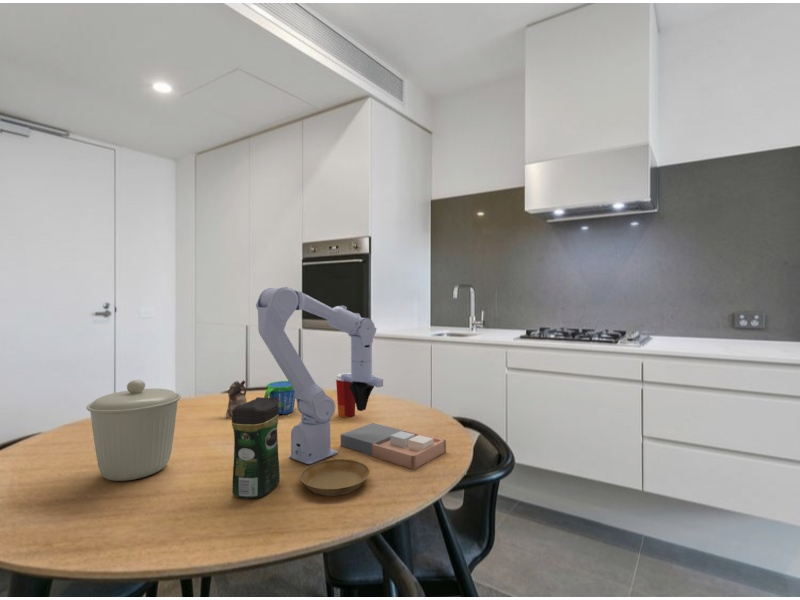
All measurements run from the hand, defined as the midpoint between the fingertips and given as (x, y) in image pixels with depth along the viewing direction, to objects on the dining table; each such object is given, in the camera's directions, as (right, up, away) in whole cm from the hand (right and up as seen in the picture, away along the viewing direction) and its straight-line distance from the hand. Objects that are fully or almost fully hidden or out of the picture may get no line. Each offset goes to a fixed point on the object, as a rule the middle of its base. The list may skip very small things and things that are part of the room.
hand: (361, 409), depth 111 cm
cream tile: (+16, -7, -11) cm, 20 cm away
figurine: (-46, -10, +27) cm, 54 cm away
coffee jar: (-19, -9, -28) cm, 35 cm away
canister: (-50, -9, -19) cm, 54 cm away
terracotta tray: (+13, -9, -9) cm, 18 cm away
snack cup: (-31, -10, +31) cm, 45 cm away
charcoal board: (+3, -9, -1) cm, 10 cm away
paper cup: (-8, -9, +27) cm, 30 cm away
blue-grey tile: (+11, -7, -7) cm, 15 cm away
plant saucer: (-3, -9, -25) cm, 27 cm away
